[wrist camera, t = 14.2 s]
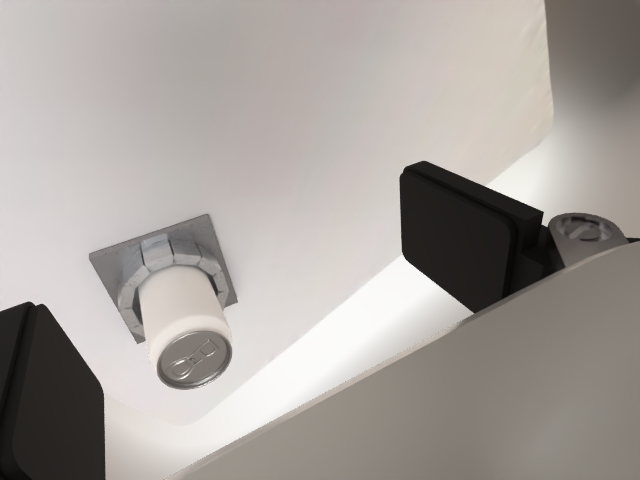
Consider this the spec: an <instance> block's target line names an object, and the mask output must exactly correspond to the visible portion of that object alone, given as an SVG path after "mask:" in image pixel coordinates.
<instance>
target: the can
mask: <svg viewBox="0 0 640 480" xmlns="http://www.w3.org/2000/svg"><path fill="white" fill-rule="evenodd" d="M138 292H139V299H140V306H141V313H142V320H143V326H144V333H145V339H146V345H147V351H148V357H149V361H150V363H151V366H152V367H153V369H154V370H155V371H156V372H157V374H158V376H159V378H160V380H161V381H162V382H163V383H164V384H165V385H167V386H169V387H171V388H175V389H181V390H187V389H194V388H198V387H201V386H204V385H206V384H208V383H210V382H212V381H214V380H215V379H216V378H218V377H219V376H220V375H221V374H222V373H223V372H224V371H225V370H226V368H227V367H228V365H229V363H230V361H231V358H232V347H231V344H232V335H231V331H230V328H229V325H228V323H227V320H226V318H225V316H224V313H223V311H222V309H221V306H220V304H219V302H218V299H217V297H216V295H215V292H214V290H213V288H212V285H211V283H210V281H209V278H208V276H207V274H206V272H205V271H204V270H203V269H201V268H200V267H198V266H197V265H184V264H172V265H169V266H167V267H164V268H161V269H159V270H156V271H153V272H151V273H150V274H149V275H148V276H147V277H146V278H145V279H144V280H143V281H142V282H141V283H140V284H139V285H138Z"/></svg>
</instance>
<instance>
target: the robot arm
mask: <svg viewBox="0 0 640 480" xmlns="http://www.w3.org/2000/svg"><path fill="white" fill-rule="evenodd" d="M400 209H401V239H402V253H403V255H404V257H405V259H406V260H407V261H408V262H409V263H411V264H412V265H413V266H414V267H416V268H417V269H418V270H419V271H421V272H422V273H423V274H425V275H426V276H427V277H428V278H430V279H431V280H432V281H434V282H435V283H436V284H437V285H439V286H440V287H441V288H443V289H444V290H445V291H447V292H448V293H449V294H450V295H452V296H453V297H454V298H456V299H457V300H458V301H459V302H460V303H462V304H463V305H464V306H466V307H467V308H468V309H469V310H471V311H472V312H473V313H475V314H473V315H471V316H470V317H468V318H466V319H464V320H462V321H460V322H458V323H456V324H454V325H452V326H451V327H448V328H447V329H445V330H443V331H441V332H439V333H437V334H435V335H433V336H431V337H429V338H427V339H426V340H424V341H422V342H420V343H418V344H416V345H414V346H412V347H411V348H409V349H407V350H405V351H403V352H401V353H399V354H397V355H395V356H393V357H392V358H390V359H388V360H386V361H384V362H382V363H380V364H378V365H376V366H375V367H373V368H371V369H369V370H367V371H365V372H364V373H361V374H359V375H358V376H356V377H354V378H352V379H350V380H348V381H346V382H344V383H342V384H341V385H339V386H337V387H335V388H333V389H331V390H329V391H327V392H325V393H324V394H322V395H320V396H318V397H316V398H314V399H312V400H311V401H309V402H307V403H305V404H303V405H301V406H299V407H298V408H296V409H294V410H292V411H290V412H288V413H286V414H284V415H282V416H281V417H279V418H277V419H275V420H273V421H271V422H269V423H267V424H266V425H264V426H262V427H260V428H258V429H256V430H254V431H253V432H251V433H249V434H247V435H245V436H243V437H242V438H239V439H238V440H236V441H234V442H232V443H230V444H229V445H226V446H225V447H223V448H221V449H219V450H217V451H215V452H213V453H212V454H210V455H208V456H206V457H204V458H202V459H200V460H198V461H197V462H195V463H193V464H191V465H189V466H187V467H186V468H184V469H182V470H180V471H178V472H177V473H175V474H173V475H171V476H169V477H168V478H166V479H164V480H640V238H626V237H625V236H624V234H623V233H622V231H621V230H620V229H619V227H617V225H615V224H614V223H613V222H611V221H609V220H607V219H605V218H602V217H599V216H597V215H592V214H586V213H565V214H561V215H557V216H555V217H554V218H552V219H551V220H550V222H549V224H548V227H546V226H543V225H541V224H542V218H543V213H544V212H543V211H540V210H538V209H536V208H533V207H531V206H528V205H526V204H524V203H522V202H519V201H517V200H515V199H512V198H510V197H508V196H505V195H503V194H501V193H498V192H496V191H494V190H492V189H489V188H487V187H485V186H482V185H480V184H478V183H475V182H473V181H471V180H469V179H466V178H464V177H462V176H459V175H457V174H455V173H452V172H450V171H448V170H445V169H443V168H441V167H438V166H436V165H434V164H432V163H429V162H427V161H421V162H418V163H415V164H412V165H410V166H407V167H405V168H404V171H403V173H402V174H401V175H400ZM104 429H105V428H104V394H103V390H102V387H101V384H100V382H99V381H98V379H97V378H96V376H95V375H94V374H93V372H92V371H91V369H90V368H89V366H88V365H87V364H86V362H85V361H84V359H83V358H82V356H81V355H80V354H79V352H78V351H77V349H76V348H75V346H74V345H73V344H72V342H71V341H70V339H69V338H68V336H67V335H66V334H65V332H64V331H63V329H62V328H61V326H60V325H59V324H58V322H57V321H56V319H55V318H54V316H53V315H52V314H51V312H50V311H49V309H48V308H47V307H46V306H45V305H44V304H40V305H37V306H35V305H34V304H33V303H32V302H26V303H23V304H20V305H17V306H14V307H12V308H9V309H6V310H3V311H0V480H105V430H104Z"/></svg>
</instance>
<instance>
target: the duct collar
mask: <svg viewBox="0 0 640 480" xmlns="http://www.w3.org/2000/svg"><path fill="white" fill-rule="evenodd" d="M89 260H90V262H91V263H92V265H93V267H94V269H95V270H96V272H97V274H98V276H99V277H100V279H101V281H102V283H103V284H104V286H105V288H106V290H107V291H108V293H109V295H110V297H111V298H112V300H113V302H114V304H115V305H116V307H117V309H118V311H119V312H120V314H121V316H122V318H123V320H124V321H125V323H126V325H127V327H128V328H129V330H130V332H131V334H132V335H133V337H134V339H135V341H136V342H137V344H139V343H141V342H144V341H146V339H145V333H144V326H143V320H142V313H141V306H140V299H139V292H138V285H139V284H140V283H141V282H142V281H143V280H144V279H145V278H146V277H147V276H148V275H149V274H150V273H151V272H153V271H156V270H159V269H161V268H164V267H167V266H169V265H172V264H184V265H197V266H198V267H200V268H201V269H203V270H204V271H205V272H206V274H207V276H208V278H209V281H210V283H211V285H212V288H213V290H214V292H215V295H216V297H217V299H218V302H219V304H220V306H221V309H222V311H223V310H224V308H225V307H227V306H230V305H232V304H234V303H237V302H238V300H237V297H236V295H235V292H234V289H233V286H232V283H231V280H230V277H229V274H228V271H227V268H226V265H225V262H224V259H223V256H222V253H221V250H220V247H219V244H218V242H217V239H216V236H215V233H214V230H213V227H212V224H211V221H210V218H209V216H208V214H206V215H203V216H200V217H197V218H194V219H191V220H188V221H185V222H182V223H179V224H176V225H173V226H170V227H167V228H164V229H161V230H158V231H155V232H152V233H149V234H147V235H144V236H141V237H138V238H135V239H132V240H129V241H126V242H123V243H120V244H117V245H114V246H111V247H108V248H105V249H102V250H99V251H96V252H93V253H90V254H89Z"/></svg>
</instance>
